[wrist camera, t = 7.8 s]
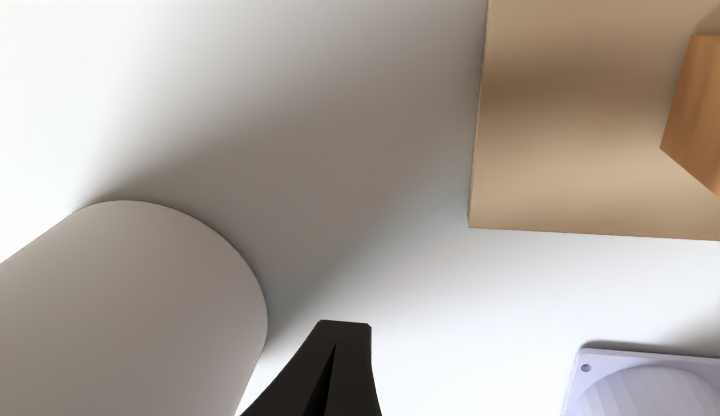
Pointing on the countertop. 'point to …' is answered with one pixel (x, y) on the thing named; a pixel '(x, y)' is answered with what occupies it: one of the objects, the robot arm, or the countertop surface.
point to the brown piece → (697, 113)
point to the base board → (586, 119)
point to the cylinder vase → (128, 317)
